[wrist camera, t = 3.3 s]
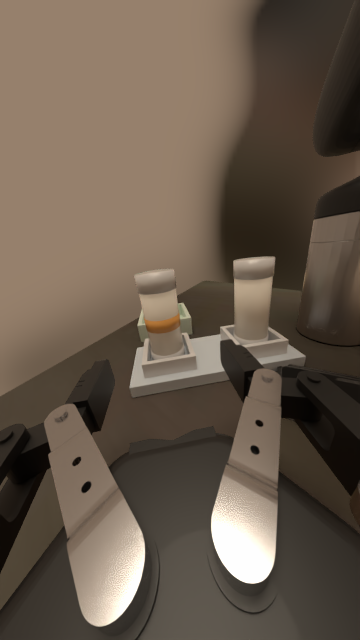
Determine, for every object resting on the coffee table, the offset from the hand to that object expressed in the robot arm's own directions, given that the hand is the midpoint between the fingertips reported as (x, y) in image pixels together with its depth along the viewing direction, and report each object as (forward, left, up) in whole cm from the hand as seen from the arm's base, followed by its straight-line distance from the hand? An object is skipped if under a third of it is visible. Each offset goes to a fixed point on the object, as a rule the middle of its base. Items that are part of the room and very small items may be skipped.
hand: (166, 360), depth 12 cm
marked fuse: (-4, -9, -7) cm, 12 cm away
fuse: (-15, -4, -7) cm, 17 cm away
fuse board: (-10, -7, -9) cm, 15 cm away
